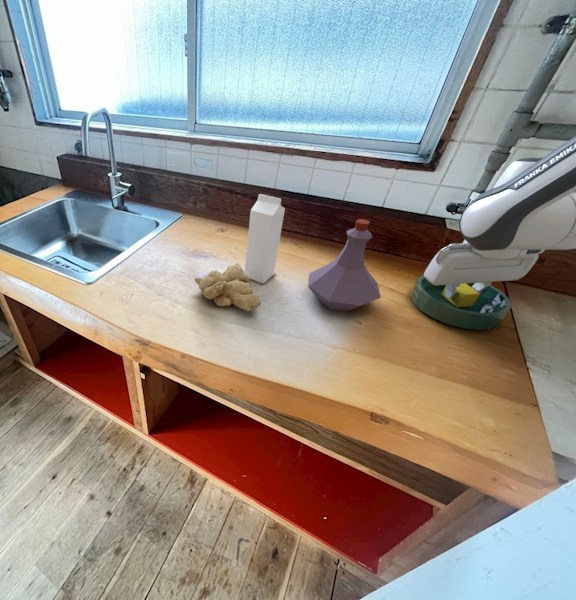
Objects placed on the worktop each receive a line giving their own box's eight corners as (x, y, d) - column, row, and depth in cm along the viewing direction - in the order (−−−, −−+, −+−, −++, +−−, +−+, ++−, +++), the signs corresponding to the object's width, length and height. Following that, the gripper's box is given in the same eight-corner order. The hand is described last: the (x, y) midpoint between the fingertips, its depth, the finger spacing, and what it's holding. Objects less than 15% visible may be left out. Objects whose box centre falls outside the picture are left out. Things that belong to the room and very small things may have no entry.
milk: (262, 284, 85) (275, 202, 72) (243, 276, 88) (251, 197, 75) (274, 274, 88) (287, 195, 75) (254, 267, 92) (264, 190, 78)
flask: (384, 296, 78) (418, 218, 67) (362, 331, 69) (397, 247, 57) (318, 274, 88) (337, 202, 76) (290, 302, 78) (307, 224, 66)
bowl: (520, 328, 68) (533, 312, 65) (443, 334, 67) (453, 317, 64) (459, 285, 81) (468, 270, 78) (395, 289, 80) (401, 274, 78)
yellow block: (472, 306, 73) (480, 293, 70) (456, 307, 72) (464, 294, 70) (455, 293, 77) (462, 281, 74) (440, 294, 76) (447, 282, 74)
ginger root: (196, 273, 88) (203, 249, 82) (252, 289, 87) (263, 265, 82) (186, 310, 76) (194, 284, 70) (251, 328, 75) (264, 303, 70)
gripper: (455, 251, 62) (425, 307, 71) (556, 245, 63) (515, 301, 71) (432, 237, 67) (407, 291, 76) (526, 231, 68) (490, 285, 76)
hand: (460, 296), depth 73 cm, fingers closed on yellow block, 3 cm apart
